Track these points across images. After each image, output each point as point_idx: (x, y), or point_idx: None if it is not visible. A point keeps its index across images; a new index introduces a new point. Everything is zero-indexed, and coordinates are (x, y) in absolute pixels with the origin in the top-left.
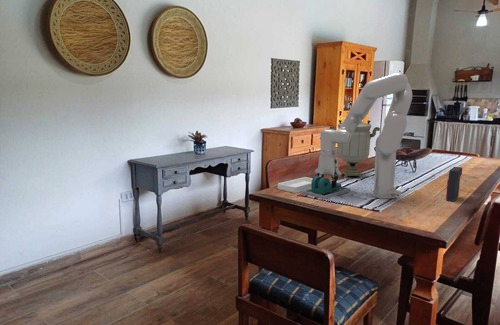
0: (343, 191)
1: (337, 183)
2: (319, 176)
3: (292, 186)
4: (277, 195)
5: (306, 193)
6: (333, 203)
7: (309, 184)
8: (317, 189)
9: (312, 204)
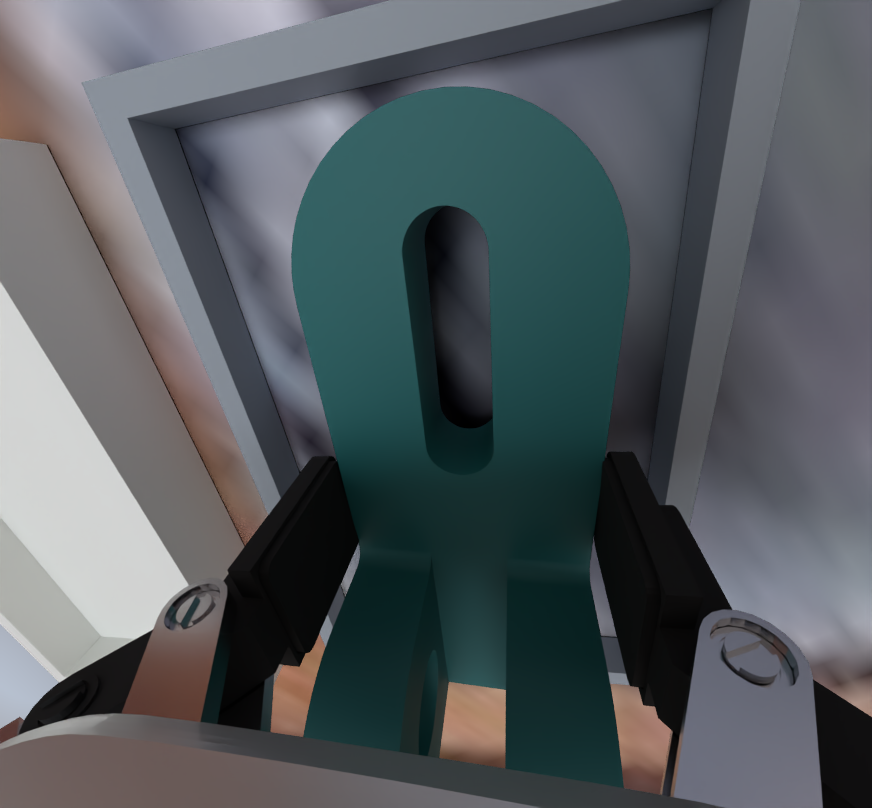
0: (724, 298)
1: (454, 183)
2: (230, 715)
3: None
4: (292, 726)
5: None
6: None
7: (161, 516)
8: (495, 686)
9: (647, 766)
